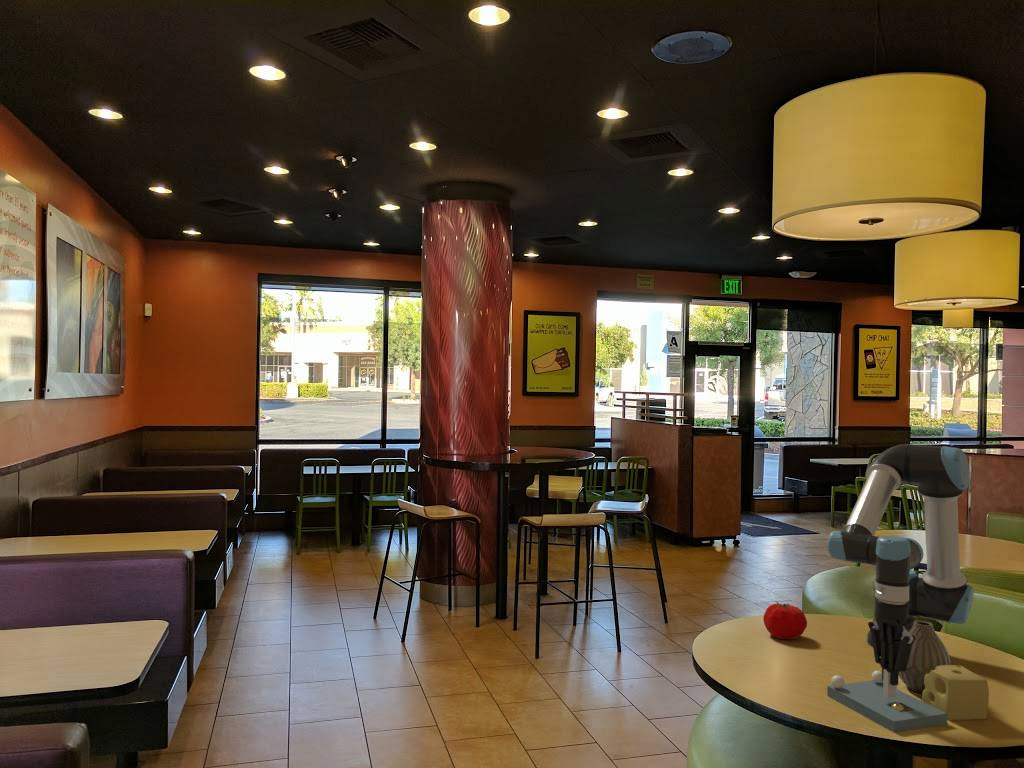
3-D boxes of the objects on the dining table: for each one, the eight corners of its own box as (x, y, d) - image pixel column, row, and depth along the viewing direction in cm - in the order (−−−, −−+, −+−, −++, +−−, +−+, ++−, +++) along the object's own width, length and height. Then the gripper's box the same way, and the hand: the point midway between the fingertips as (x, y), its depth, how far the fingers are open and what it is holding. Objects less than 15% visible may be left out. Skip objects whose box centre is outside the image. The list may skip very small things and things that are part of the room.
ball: (900, 699, 192) (909, 708, 189) (896, 709, 193) (905, 719, 190) (889, 700, 191) (898, 710, 188) (885, 711, 192) (895, 720, 190)
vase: (956, 689, 209) (958, 623, 209) (941, 703, 200) (942, 634, 200) (904, 675, 218) (905, 612, 218) (886, 688, 209) (888, 622, 209)
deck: (877, 689, 208) (877, 679, 208) (947, 724, 187) (947, 713, 187) (827, 695, 203) (827, 685, 203) (893, 732, 182) (893, 721, 182)
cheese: (921, 703, 199) (922, 664, 199) (961, 703, 200) (962, 664, 200) (947, 721, 189) (948, 680, 189) (990, 721, 190) (991, 679, 190)
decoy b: (838, 685, 204) (838, 672, 204) (847, 689, 201) (847, 677, 201) (828, 686, 203) (828, 674, 203) (837, 691, 200) (837, 678, 200)
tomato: (755, 635, 251) (756, 602, 251) (775, 628, 259) (775, 595, 259) (794, 646, 241) (795, 611, 241) (814, 638, 249) (814, 604, 249)
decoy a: (878, 680, 208) (878, 668, 208) (888, 684, 205) (888, 672, 205) (868, 681, 207) (869, 669, 207) (878, 686, 204) (878, 673, 204)
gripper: (860, 594, 199) (857, 687, 199) (900, 609, 186) (898, 708, 186) (883, 592, 201) (881, 684, 201) (925, 606, 189) (923, 705, 189)
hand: (889, 696), depth 194 cm, fingers closed
